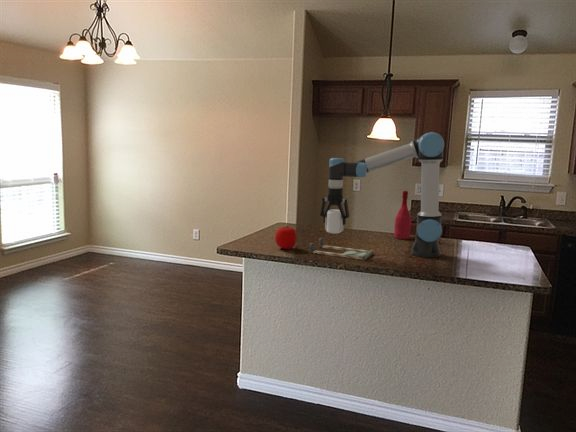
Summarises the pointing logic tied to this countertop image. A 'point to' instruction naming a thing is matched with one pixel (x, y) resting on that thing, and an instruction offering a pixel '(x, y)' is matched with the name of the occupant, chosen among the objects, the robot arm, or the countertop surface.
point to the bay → (349, 252)
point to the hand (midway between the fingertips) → (334, 229)
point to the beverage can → (334, 221)
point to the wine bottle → (403, 220)
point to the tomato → (285, 237)
